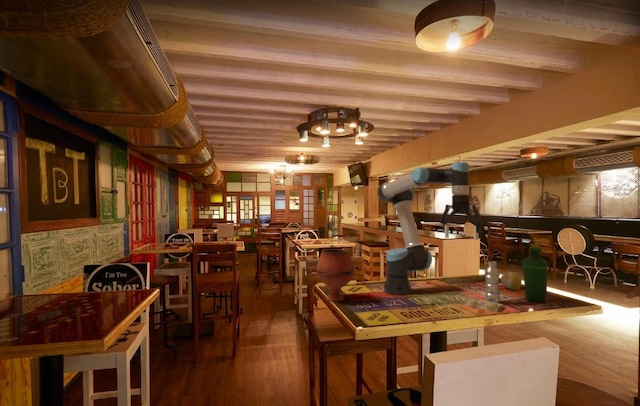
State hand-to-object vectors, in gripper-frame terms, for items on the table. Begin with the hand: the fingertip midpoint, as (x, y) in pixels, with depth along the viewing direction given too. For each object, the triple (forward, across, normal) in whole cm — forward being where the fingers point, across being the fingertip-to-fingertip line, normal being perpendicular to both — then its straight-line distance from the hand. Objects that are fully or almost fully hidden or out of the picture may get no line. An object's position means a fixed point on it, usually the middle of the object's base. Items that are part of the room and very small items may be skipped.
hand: (460, 238), depth 151 cm
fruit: (+32, +9, +49) cm, 59 cm away
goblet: (+32, -50, -35) cm, 69 cm away
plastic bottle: (+32, +10, +14) cm, 36 cm away
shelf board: (+32, +8, +4) cm, 33 cm away
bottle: (+32, +24, +32) cm, 52 cm away
